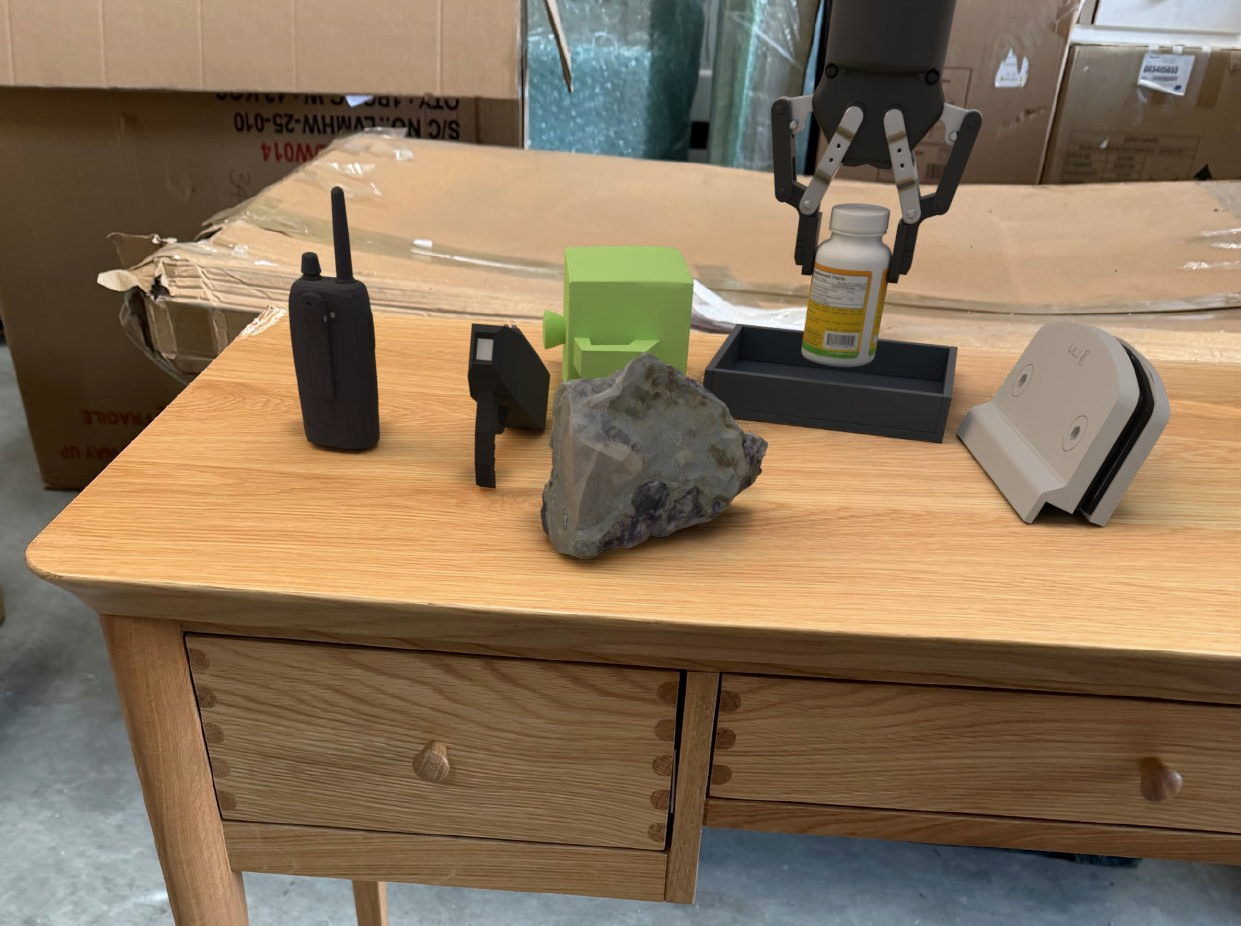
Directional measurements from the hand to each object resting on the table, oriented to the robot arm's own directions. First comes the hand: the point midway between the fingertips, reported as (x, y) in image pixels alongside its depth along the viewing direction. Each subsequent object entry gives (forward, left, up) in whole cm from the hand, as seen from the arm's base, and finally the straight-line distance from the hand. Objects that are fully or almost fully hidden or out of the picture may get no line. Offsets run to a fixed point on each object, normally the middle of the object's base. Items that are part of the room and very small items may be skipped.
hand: (849, 275), depth 83 cm
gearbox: (+16, +5, -9) cm, 19 cm away
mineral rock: (+7, +29, -9) cm, 31 cm away
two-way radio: (+30, +22, -9) cm, 38 cm away
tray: (0, 0, -9) cm, 9 cm away
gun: (+19, +19, -9) cm, 28 cm away
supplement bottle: (0, 0, -6) cm, 6 cm away
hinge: (-15, +11, -9) cm, 21 cm away
